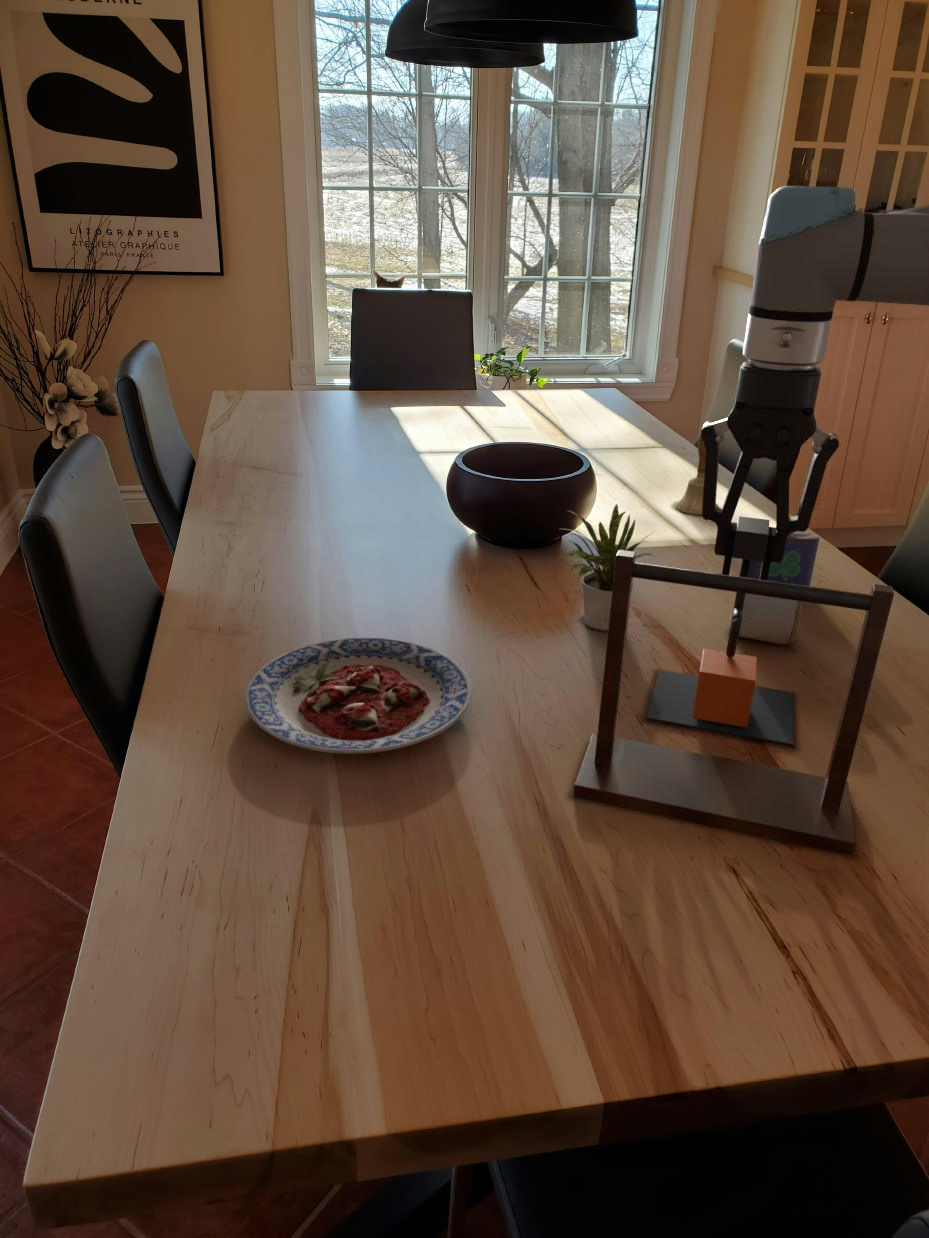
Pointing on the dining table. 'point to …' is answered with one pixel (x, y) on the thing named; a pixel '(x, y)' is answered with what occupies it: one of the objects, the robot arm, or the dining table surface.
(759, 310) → the robot arm
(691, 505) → the hand bell
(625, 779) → the rack
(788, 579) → the flask
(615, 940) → the dining table surface
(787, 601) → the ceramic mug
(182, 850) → the dining table surface
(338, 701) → the ceramic plate
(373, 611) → the dining table surface
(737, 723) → the orange block with hook
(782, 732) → the mat
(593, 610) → the house plant
